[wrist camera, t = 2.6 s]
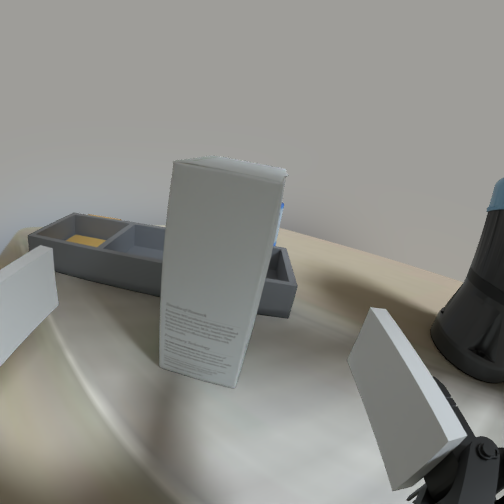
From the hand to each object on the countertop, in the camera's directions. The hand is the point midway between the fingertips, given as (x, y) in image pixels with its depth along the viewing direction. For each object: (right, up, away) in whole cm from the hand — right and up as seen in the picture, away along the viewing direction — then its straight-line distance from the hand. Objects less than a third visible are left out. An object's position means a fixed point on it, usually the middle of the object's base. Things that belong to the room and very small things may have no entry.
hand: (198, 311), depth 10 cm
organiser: (-10, 0, +25) cm, 27 cm away
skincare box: (-2, -6, +13) cm, 15 cm away
